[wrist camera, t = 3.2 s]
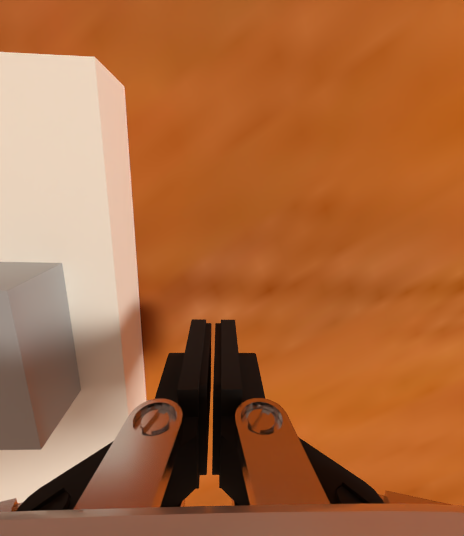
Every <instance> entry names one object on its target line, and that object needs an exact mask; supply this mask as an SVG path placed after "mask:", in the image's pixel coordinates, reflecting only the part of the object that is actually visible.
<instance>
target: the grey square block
mask: <svg viewBox="0 0 464 536" xmlns="http://www.w3.org/2000/svg"><path fill="white" fill-rule="evenodd" d="M80 391H81V386H80V379H79V372H78V366H77V359H76V352H75V345H74V339H73V332H72V325H71V319H70V312H69V305H68V298H67V292H66V285H65V278H64V272H63V265H62V263H42V262H0V450H41V449H42V448H43V446H44V445H45V443H46V442H47V440H48V439H49V437H50V436H51V434H52V433H53V431H54V430H55V428H56V427H57V425H58V424H59V422H60V421H61V419H62V418H63V416H64V415H65V413H66V412H67V410H68V409H69V407H70V406H71V404H72V403H73V401H74V400H75V398H76V397H77V395H78V394H79V392H80Z"/></svg>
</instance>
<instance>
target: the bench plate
mask: <svg viewBox="0 0 464 536" xmlns="http://www.w3.org/2000/svg"><path fill="white" fill-rule="evenodd" d="M0 262H42V263H62V265H63V272H64V278H65V285H66V292H67V298H68V305H69V312H70V319H71V325H72V332H73V339H74V345H75V352H76V359H77V366H78V372H79V379H80V386H81V391H80V392H79V394H78V395H77V397H76V398H75V400H74V401H73V403H72V404H71V406H70V407H69V409H68V410H67V412H66V413H65V415H64V416H63V418H62V419H61V421H60V422H59V424H58V425H57V427H56V428H55V430H54V431H53V433H52V434H51V436H50V437H49V439H48V440H47V442H46V443H45V445H44V446H43V448H42V449H41V450H0V502H1V501H6V500H10V499H14V498H16V499H17V503H21V502H24V501H25V500H26V499H27V498H28V497H29V496H30V495H31V494H33V493H34V492H35V491H36V490H38V489H39V488H41V487H42V486H44V485H45V484H47V483H48V482H50V481H52V480H53V479H55V478H56V477H58V476H59V475H61V474H63V473H64V472H66V471H67V470H69V469H70V468H72V467H74V466H75V465H77V464H78V463H80V462H81V461H83V460H85V459H86V458H88V457H89V456H91V455H92V454H94V453H96V452H97V451H99V450H100V449H102V448H103V447H105V446H107V445H108V444H110V443H111V442H113V441H114V440H115V438H116V436H117V435H118V433H119V431H120V430H121V428H122V426H123V425H124V423H125V421H126V419H127V418H128V416H129V415H130V413H131V412H132V411H133V410H134V409H135V408H136V407H137V406H139V405H140V404H142V403H144V402H146V388H145V373H144V359H143V345H142V331H141V316H140V302H139V288H138V274H137V260H136V245H135V231H134V217H133V203H132V188H131V174H130V160H129V146H128V131H127V117H126V103H125V89H124V86H123V85H122V84H121V83H120V82H119V81H118V80H117V79H116V78H115V77H114V76H113V75H112V74H111V73H110V72H109V71H108V70H107V69H106V68H105V67H104V66H103V65H102V64H101V63H100V62H99V61H98V60H97V59H96V58H95V57H88V56H68V55H48V54H28V53H8V52H0Z"/></svg>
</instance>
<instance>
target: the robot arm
mask: <svg viewBox="0 0 464 536" xmlns="http://www.w3.org/2000/svg"><path fill="white" fill-rule="evenodd" d="M210 391H211V323H206V320H192V321H191V326H190V331H189V336H188V340H187V345H186V350H185V353H169V355H168V358H167V361H166V364H165V367H164V371H163V374H162V377H161V380H160V384H159V387H158V390H157V393H156V397H155V399H153V400H148V401H146V402H144V403H142V404H140V405H139V406H137V407H136V408H135V409H134V410H133V411H132V412H131V413H130V415H129V416H128V418H127V419H126V421H125V423H124V425H123V426H122V428H121V430H120V431H119V433H118V435H117V436H116V438H115V440H114V441H113V442H111V443H110V444H108V445H107V446H105V447H103V448H102V449H100V450H99V451H97V452H96V453H94V454H92V455H91V456H89V457H88V458H86V459H85V460H83V461H81V462H80V463H78V464H77V465H75V466H74V467H72V468H70V469H69V470H67V471H66V472H64V473H63V474H61V475H59V476H58V477H56V478H55V479H53V480H52V481H50V482H48V483H47V484H45V485H44V486H42V487H41V488H39V489H38V490H36V491H35V492H34V493H33V494H31V495H30V496H29V497H28V498H27V499H26V500H25V501H24V502H21V503H17V499H16V498H14V499H10V500H6V501H1V502H0V536H464V506H459V505H451V504H446V503H442V502H437V501H432V500H428V499H423V498H418V497H413V496H409V495H404V494H399V493H395V492H390V491H385V495H384V496H383V495H379V494H377V493H376V491H375V490H374V489H373V488H371V487H370V486H369V485H368V484H367V483H365V482H364V481H363V480H361V479H360V478H358V477H357V476H355V475H354V474H352V473H351V472H349V471H348V470H346V469H345V468H343V467H342V466H340V465H339V464H337V463H336V462H334V461H333V460H331V459H330V458H328V457H327V456H325V455H324V454H322V453H321V452H319V451H318V450H317V449H315V448H314V447H312V446H311V445H309V444H308V443H306V442H305V441H303V440H302V439H300V438H299V437H298V436H297V434H296V432H295V430H294V428H293V426H292V423H291V421H290V419H289V417H288V415H287V413H286V412H285V411H284V409H283V408H282V407H281V406H280V405H278V404H277V403H275V402H273V401H271V400H268V399H265V395H264V391H263V386H262V381H261V376H260V372H259V367H258V362H257V357H256V354H255V353H238V345H237V336H236V326H235V320H221V323H216V327H215V357H214V387H213V460H212V475H219V488H222V489H223V490H224V491H225V492H226V493H227V494H228V495H229V496H230V497H231V498H232V506H197V507H184V505H185V498H186V497H187V496H188V495H189V494H190V493H191V492H192V491H193V490H194V489H195V488H199V477H200V475H206V474H207V455H208V434H209V413H210Z"/></svg>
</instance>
